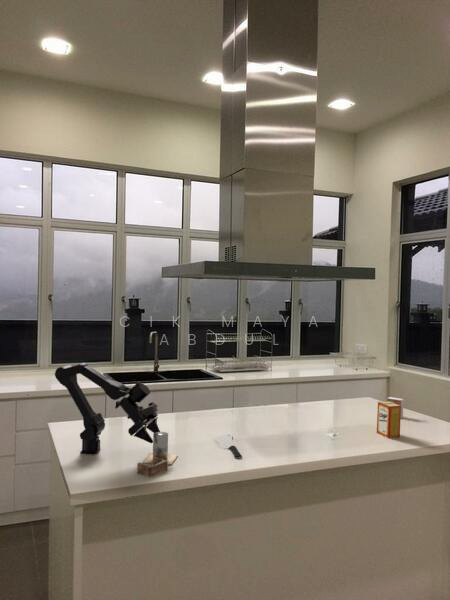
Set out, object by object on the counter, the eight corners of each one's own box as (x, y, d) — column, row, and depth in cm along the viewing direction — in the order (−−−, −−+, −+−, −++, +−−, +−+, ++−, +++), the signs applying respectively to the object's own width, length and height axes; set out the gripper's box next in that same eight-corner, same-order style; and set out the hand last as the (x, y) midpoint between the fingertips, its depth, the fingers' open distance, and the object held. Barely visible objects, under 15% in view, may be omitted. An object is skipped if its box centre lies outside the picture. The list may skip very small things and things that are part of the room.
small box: (386, 416, 281) (386, 398, 280) (388, 414, 285) (389, 396, 285) (400, 418, 276) (401, 400, 276) (403, 416, 281) (403, 398, 280)
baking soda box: (399, 437, 241) (401, 405, 241) (388, 438, 239) (389, 405, 239) (387, 431, 250) (388, 400, 250) (376, 432, 248) (378, 401, 248)
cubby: (137, 472, 185) (137, 463, 185) (154, 465, 193) (154, 456, 193) (150, 477, 182) (150, 467, 181) (167, 469, 189) (167, 460, 189)
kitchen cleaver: (211, 434, 233) (231, 432, 235) (211, 438, 234) (231, 435, 235) (221, 458, 203) (245, 454, 204) (221, 462, 203) (245, 458, 204)
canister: (153, 461, 196) (154, 436, 196) (151, 456, 202) (152, 432, 202) (168, 460, 198) (169, 435, 198) (166, 455, 204) (167, 431, 203)
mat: (142, 463, 195) (142, 461, 195) (149, 453, 206) (149, 452, 206) (171, 465, 194) (171, 464, 194) (177, 456, 205) (177, 454, 205)
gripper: (136, 402, 192) (162, 433, 190) (154, 392, 210) (177, 420, 208) (117, 420, 194) (142, 451, 192) (136, 409, 212) (159, 437, 210)
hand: (156, 439), depth 200 cm, fingers open, 9 cm apart
